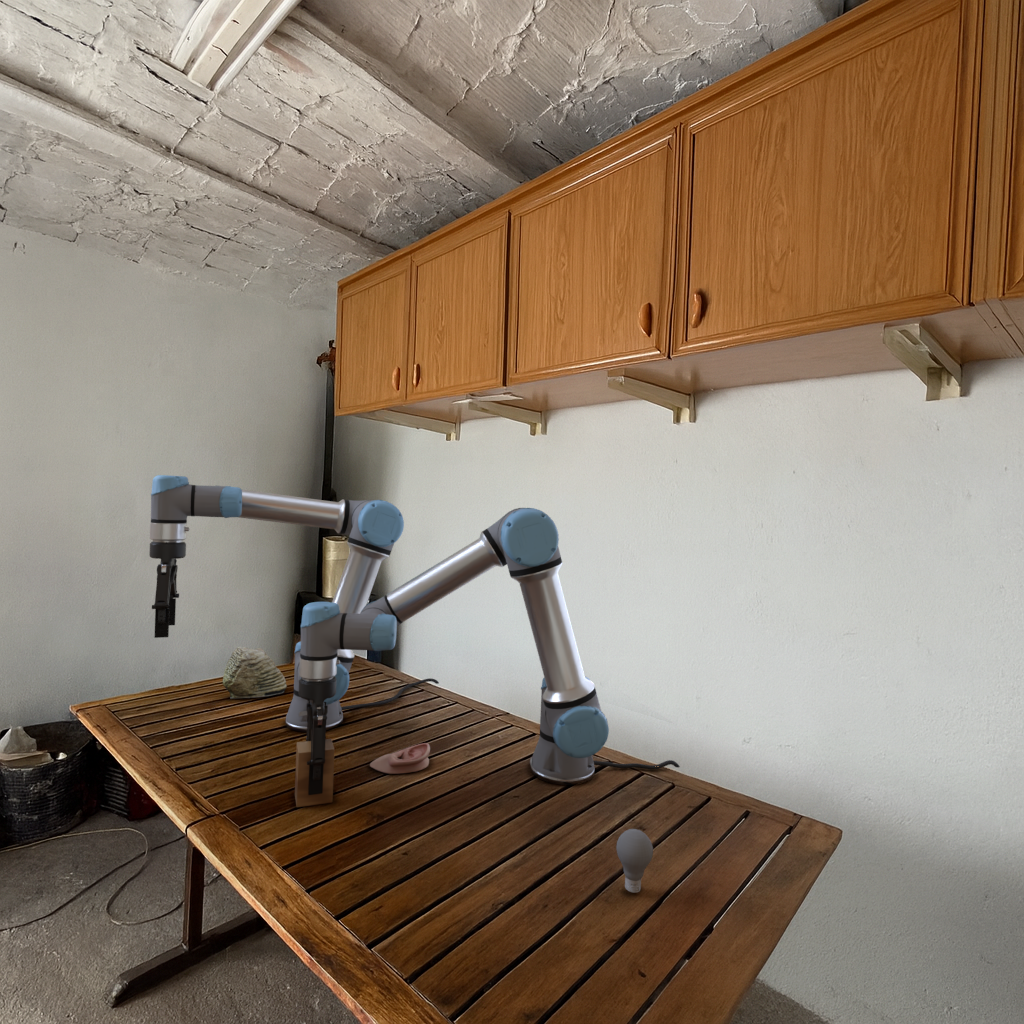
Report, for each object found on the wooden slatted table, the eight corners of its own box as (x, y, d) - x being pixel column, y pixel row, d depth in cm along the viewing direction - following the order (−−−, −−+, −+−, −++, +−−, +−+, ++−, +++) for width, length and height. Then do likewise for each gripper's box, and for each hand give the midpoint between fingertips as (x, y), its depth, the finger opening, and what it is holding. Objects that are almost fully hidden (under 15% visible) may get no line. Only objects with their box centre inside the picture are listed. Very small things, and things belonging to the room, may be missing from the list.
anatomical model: (364, 753, 147) (384, 735, 158) (364, 770, 147) (383, 751, 158) (419, 760, 144) (435, 742, 155) (418, 778, 144) (434, 758, 156)
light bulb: (610, 879, 108) (613, 822, 108) (644, 879, 109) (647, 822, 109) (619, 902, 102) (622, 840, 102) (655, 901, 103) (658, 840, 103)
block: (296, 807, 129) (298, 753, 129) (294, 794, 134) (296, 742, 134) (332, 802, 132) (334, 749, 131) (329, 789, 137) (331, 738, 137)
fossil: (218, 695, 195) (220, 647, 195) (278, 685, 208) (279, 640, 207) (228, 703, 189) (230, 653, 188) (289, 692, 201) (290, 645, 201)
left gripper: (180, 545, 139) (177, 642, 139) (190, 537, 162) (187, 620, 162) (141, 545, 136) (138, 643, 136) (157, 537, 159) (154, 621, 159)
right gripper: (342, 688, 125) (338, 804, 126) (331, 664, 143) (327, 765, 143) (302, 691, 122) (298, 810, 123) (296, 666, 140) (292, 769, 140)
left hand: (165, 631), depth 149 cm, fingers open, 13 cm apart
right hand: (313, 786), depth 133 cm, fingers closed on block, 6 cm apart
